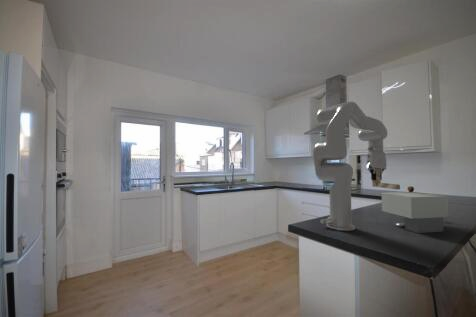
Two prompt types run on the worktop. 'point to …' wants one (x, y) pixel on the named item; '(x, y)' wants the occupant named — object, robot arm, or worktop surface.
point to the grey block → (417, 210)
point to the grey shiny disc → (400, 224)
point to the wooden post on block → (384, 185)
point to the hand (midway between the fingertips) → (376, 179)
